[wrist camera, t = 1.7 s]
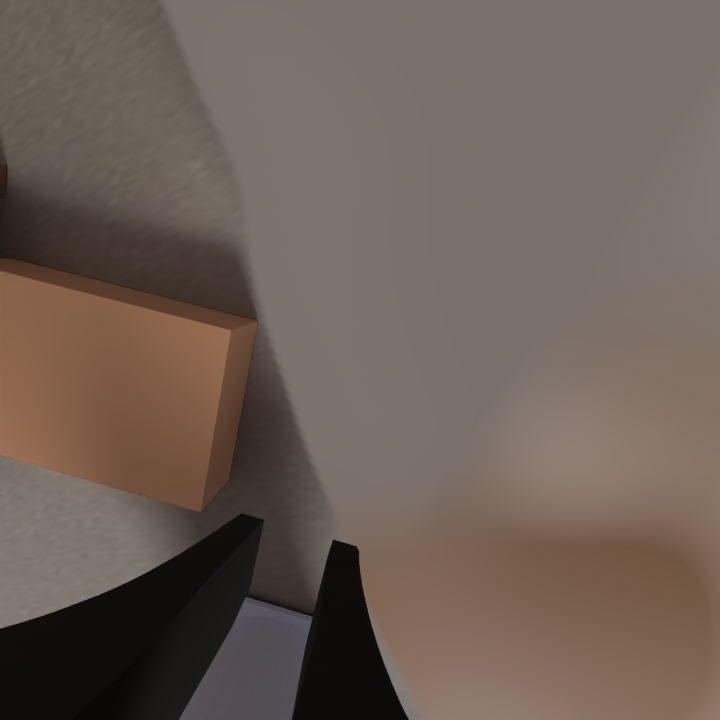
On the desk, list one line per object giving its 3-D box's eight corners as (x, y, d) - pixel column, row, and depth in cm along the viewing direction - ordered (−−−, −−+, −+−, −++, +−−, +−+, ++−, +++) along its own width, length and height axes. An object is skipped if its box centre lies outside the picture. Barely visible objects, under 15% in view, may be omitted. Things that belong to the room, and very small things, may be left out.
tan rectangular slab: (228, 479, 22) (200, 512, 19) (4, 416, 23) (-57, 438, 20) (257, 321, 20) (231, 330, 17) (12, 258, 21) (-54, 257, 18)
